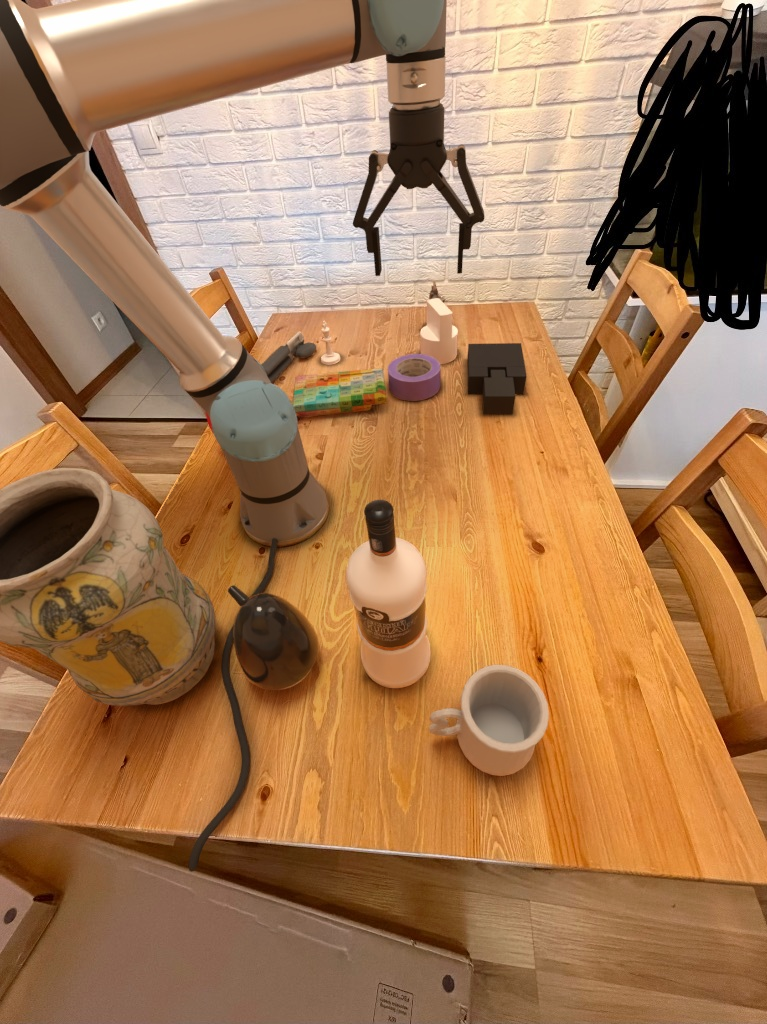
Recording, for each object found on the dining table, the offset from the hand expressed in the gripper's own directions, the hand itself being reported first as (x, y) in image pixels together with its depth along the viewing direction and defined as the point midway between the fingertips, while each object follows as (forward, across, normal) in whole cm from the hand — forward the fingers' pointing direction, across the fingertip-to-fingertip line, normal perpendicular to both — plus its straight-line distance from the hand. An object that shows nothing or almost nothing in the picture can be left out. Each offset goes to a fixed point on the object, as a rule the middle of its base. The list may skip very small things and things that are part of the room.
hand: (418, 271), depth 77 cm
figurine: (+29, +2, +37) cm, 47 cm away
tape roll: (+29, -2, +10) cm, 31 cm away
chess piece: (+29, -24, +22) cm, 44 cm away
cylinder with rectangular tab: (+29, +3, +24) cm, 38 cm away
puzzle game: (+29, -18, +4) cm, 34 cm away
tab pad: (+29, +16, +5) cm, 33 cm away
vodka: (+29, 0, -55) cm, 62 cm away
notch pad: (+29, +16, +14) cm, 36 cm away
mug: (+29, +11, -64) cm, 71 cm away
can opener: (+29, -34, +19) cm, 49 cm away
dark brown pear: (+29, -15, -57) cm, 66 cm away
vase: (+29, -32, -58) cm, 72 cm away
